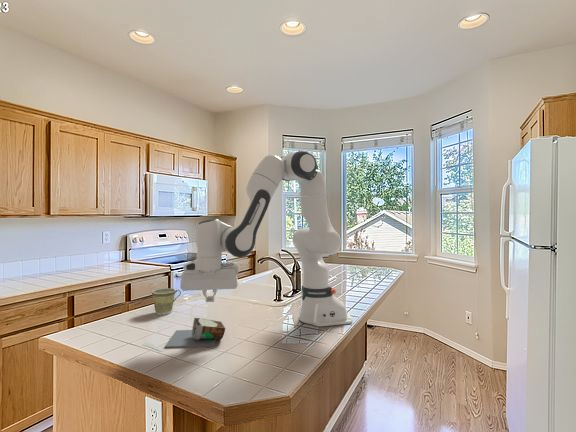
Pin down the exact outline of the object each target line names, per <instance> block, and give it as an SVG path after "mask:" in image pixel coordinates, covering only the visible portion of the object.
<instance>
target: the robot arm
mask: <svg viewBox="0 0 576 432" xmlns="http://www.w3.org/2000/svg"><path fill="white" fill-rule="evenodd" d="M282 181H285V182H289V181H297V183H298V185H299V191H300V193H299V194H300V195H299V196H300V210H301V211H300V213H301V216H302V217H303V218H304V220H305V221H306V224H307V225H308V227H303V228H299V229H296V230H295V232H294V233H293V235H292V245H293V246H294V248H295V249H296V251H297V253H298V254H299V255H298V256H299V258H300V263H301V268H302V269H301V270H302V286H301V294H300V295H301V296H300V297H301V307H300V311H299V317H298V319H299V321H300V322H302V323H304V324H307V325H308V324H309V325H312V326H315V327H328V326H339V325H348V324H352V323H353V317H352V316H351V315H350V314H349V313H348V312H347V308H346V305H345V304H344V302H343V301H341V300H340V299H339V298H338V297H336V296H335V295H336V293H337V290H336V289H335V288H333V287H331V286H330V284H329V281H330V280H329V274H330V273H329V267H328V265H327V264H326V263H325V261H324V258H323V256H331V255H335V254H337V253H338V252H339V251H340V249H341V247H342V239H341V236H340V234H339V233H338V232H337V230H336V229H335V228H334V227H333V224H332V223H331V219H330V216H329V212H328V201H327V199H328V198H327V187H326V181H325V177H324V174H323V172H322V171H320V170H319V167H318V162H317V159H316V157H315V156H314V155H313V153H312V152H310V151H308V150H298V151H294V152H290V153H287V155H284V156H281V157H279V156H278V155H275V154H268V155H266V156H264V157H263V159H262V160H261V161H260V162H259V163H258V165H257V166H256V168H255V169H254V170H253V172H252V174H251V176H250V178H249V180H248V182H247V185H246V188H245V190H246V195H247V196H248V198H249V205H248V208H247V209H246V211H245V214H244V216H243V218H242V220H241V222H240V223H239V225H238V226H232V225H229V224H227V223H225V222H223V221H222V220H219V218H208V219H203V220H201V221H200V222H198V224H197V226H196V235H195V245H196V248H197V250H196V251H197V252H196V259H193V260H191V261H188V262H186V263H184V264H183V266H182V269H183V271H182V273H181V276H180V289H181V291H183V292H184V291H186V292H188V291H202V292H201V293H202V295H203V296H204V298H205V303H214V302H215V296H216V294H217V293H218V290H231V289H232V290H235V289H237V288H238V285H239V281H238V275H239V265H237V264H236V263H234V262H229V263H228V262H223V261H222V253H224V252H227V253H228V254H230V255H232V256H234V257H236V258H244V257H247V256H248V255H250V254H251V253H252V252H253V250H254V248H255V247H256V246H255V245H256V241H257V240H256V238H257V233H258V230H259V228H260V226H261V224H262V221H263V219H264V216H265V215H266V212H267V210H268V208H269V205H270V203H271V200H272V198H273V196H274V195H275V193H276V192H277V191H276V190H277V189H278V187H279V185H280V183H281V182H282ZM210 290H212V293H213V294H212V295H208V291H210Z"/></svg>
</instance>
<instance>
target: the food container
mask: <svg viewBox="0 0 576 432" xmlns="http://www.w3.org/2000/svg"><path fill="white" fill-rule="evenodd" d="M192 323H193V324H192V329H191V330H192V338H194V339H196V340H199V339H216V340H222V339H223V338H224V335H225V333H226V326H225V325H224V323H223V322H222V321H219V320H213V319H205V318H200V317H194V318H193V322H192Z"/></svg>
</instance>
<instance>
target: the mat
mask: <svg viewBox="0 0 576 432" xmlns="http://www.w3.org/2000/svg"><path fill="white" fill-rule="evenodd" d="M216 340H217V339H199V340H196V339H194V338H192V329H178V330H177V329H176V330H175V332H174V333H173V334H172V335H171V337H170V339H169V340H168V341H167V343H166V344H165V345H164V349H174V348H175V349H178V348H180V349H182V348H210V347H211V348H213V347H214V345H215V342H216Z"/></svg>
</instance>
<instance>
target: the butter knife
mask: <svg viewBox="0 0 576 432" xmlns="http://www.w3.org/2000/svg"><path fill="white" fill-rule="evenodd" d="M142 346H144V347H146V348H151V349H152V350H155V351H157V352H159V353H162V352H165V350H163V349H161V348H159V347H157V346H155V345H154V344H153V343H150V342H144V343H142Z"/></svg>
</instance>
